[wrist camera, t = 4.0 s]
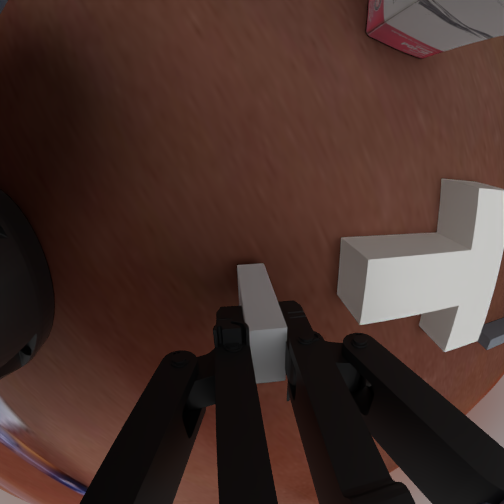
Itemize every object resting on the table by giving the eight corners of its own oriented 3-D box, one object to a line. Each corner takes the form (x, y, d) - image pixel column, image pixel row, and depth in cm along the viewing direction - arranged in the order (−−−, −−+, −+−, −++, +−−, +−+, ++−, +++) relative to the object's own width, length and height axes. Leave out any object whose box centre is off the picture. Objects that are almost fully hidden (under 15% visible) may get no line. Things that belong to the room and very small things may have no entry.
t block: (331, 341, 22) (350, 376, 18) (343, 174, 18) (373, 182, 14) (451, 317, 22) (477, 340, 19) (475, 181, 19) (511, 191, 15)
